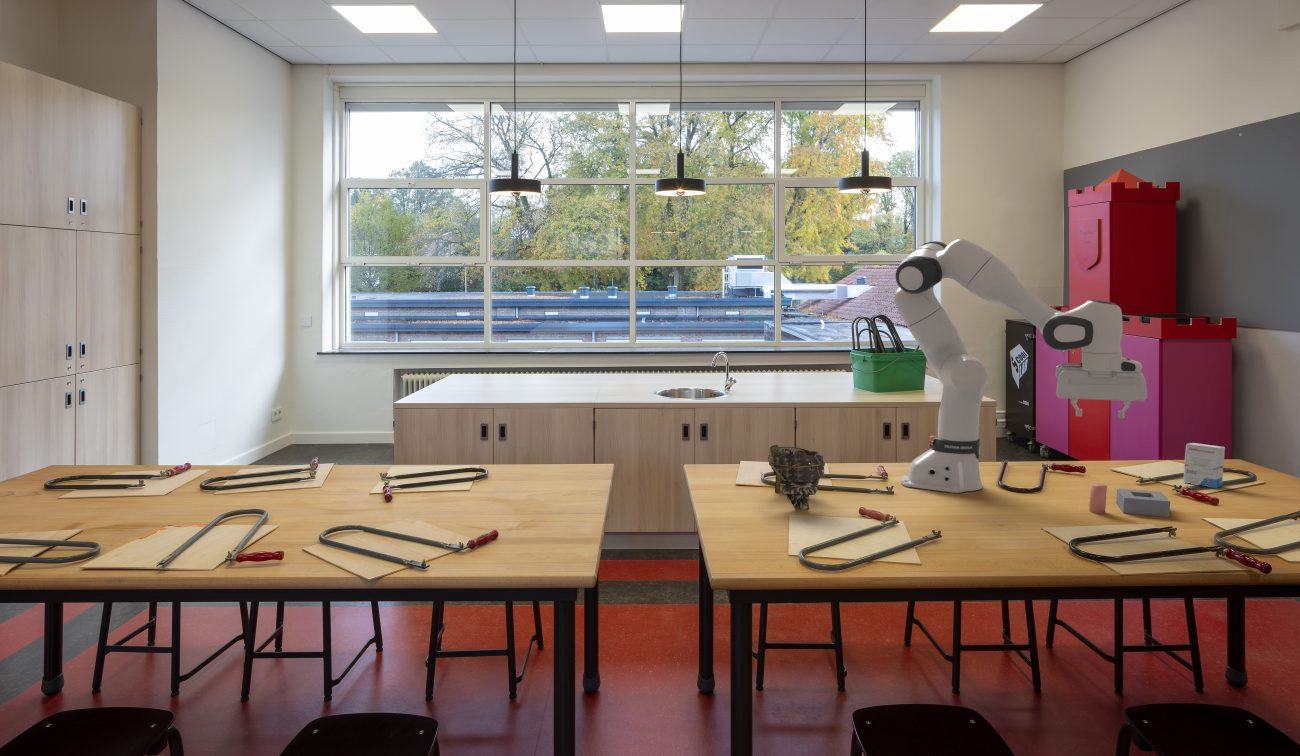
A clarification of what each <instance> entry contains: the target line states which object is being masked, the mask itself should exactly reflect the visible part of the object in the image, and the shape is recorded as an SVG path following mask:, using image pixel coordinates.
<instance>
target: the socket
mask: <svg viewBox="0 0 1300 756" xmlns="http://www.w3.org/2000/svg"><path fill="white" fill-rule="evenodd" d="M1115 504H1116V505H1117V506H1118V507H1119V509H1120V511H1121V512H1122V513H1123V514H1132V515H1140V516H1143V515H1144V516H1154V517H1155V516H1156V517H1165V518H1170V511H1171V510H1170V509H1171V501H1170V499H1168V497H1166V495H1165V494H1164V493H1162V491H1158V490H1157V491H1153V490H1143V489H1141V490H1140V489H1129V488H1116V498H1115Z"/></svg>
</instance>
